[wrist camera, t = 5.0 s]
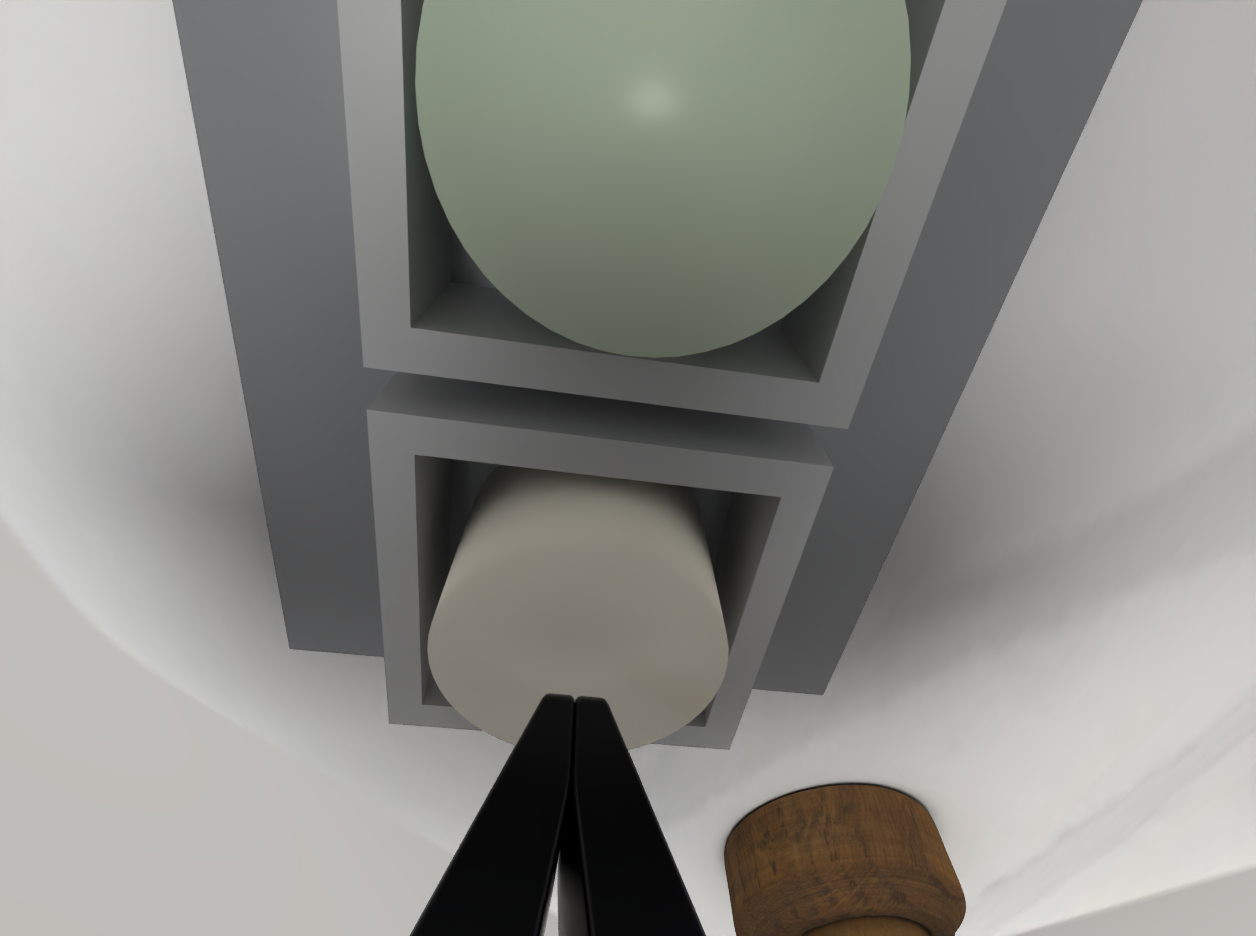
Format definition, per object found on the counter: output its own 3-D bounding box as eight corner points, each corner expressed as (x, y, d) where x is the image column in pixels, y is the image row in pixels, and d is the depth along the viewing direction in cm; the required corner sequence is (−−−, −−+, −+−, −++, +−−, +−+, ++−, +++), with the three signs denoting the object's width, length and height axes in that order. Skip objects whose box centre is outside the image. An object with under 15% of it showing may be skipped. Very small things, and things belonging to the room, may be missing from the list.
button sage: (862, -64, 7) (999, -152, 5) (765, 304, 10) (822, 382, 7) (484, -140, 7) (407, -283, 4) (475, 262, 9) (420, 328, 7)
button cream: (727, 451, 11) (762, 562, 8) (679, 633, 13) (695, 764, 10) (471, 420, 10) (425, 526, 8) (466, 612, 13) (429, 745, 10)
